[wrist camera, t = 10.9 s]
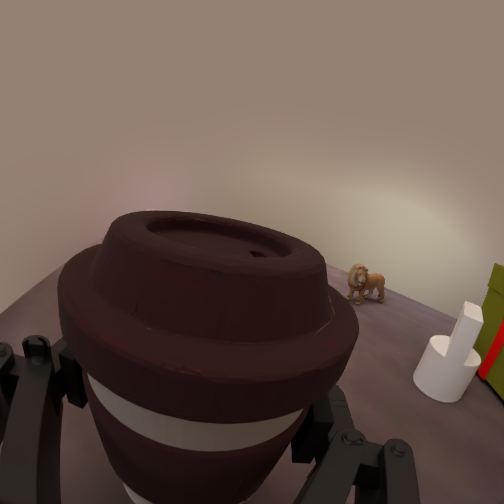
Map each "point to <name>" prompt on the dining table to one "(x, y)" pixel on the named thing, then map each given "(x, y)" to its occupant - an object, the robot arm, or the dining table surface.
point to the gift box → (492, 333)
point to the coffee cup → (201, 349)
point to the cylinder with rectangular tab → (451, 358)
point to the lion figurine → (364, 283)
